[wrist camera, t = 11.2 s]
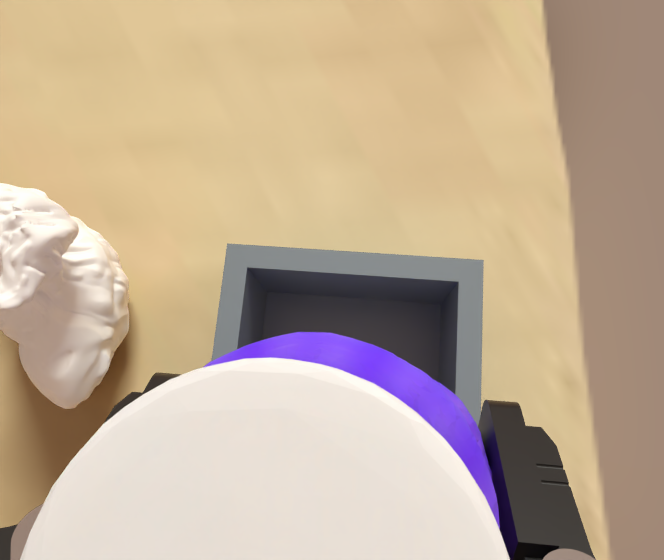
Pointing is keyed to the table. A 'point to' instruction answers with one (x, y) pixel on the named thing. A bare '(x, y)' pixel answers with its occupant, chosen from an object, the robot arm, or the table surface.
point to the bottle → (280, 465)
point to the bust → (59, 295)
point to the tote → (360, 306)
